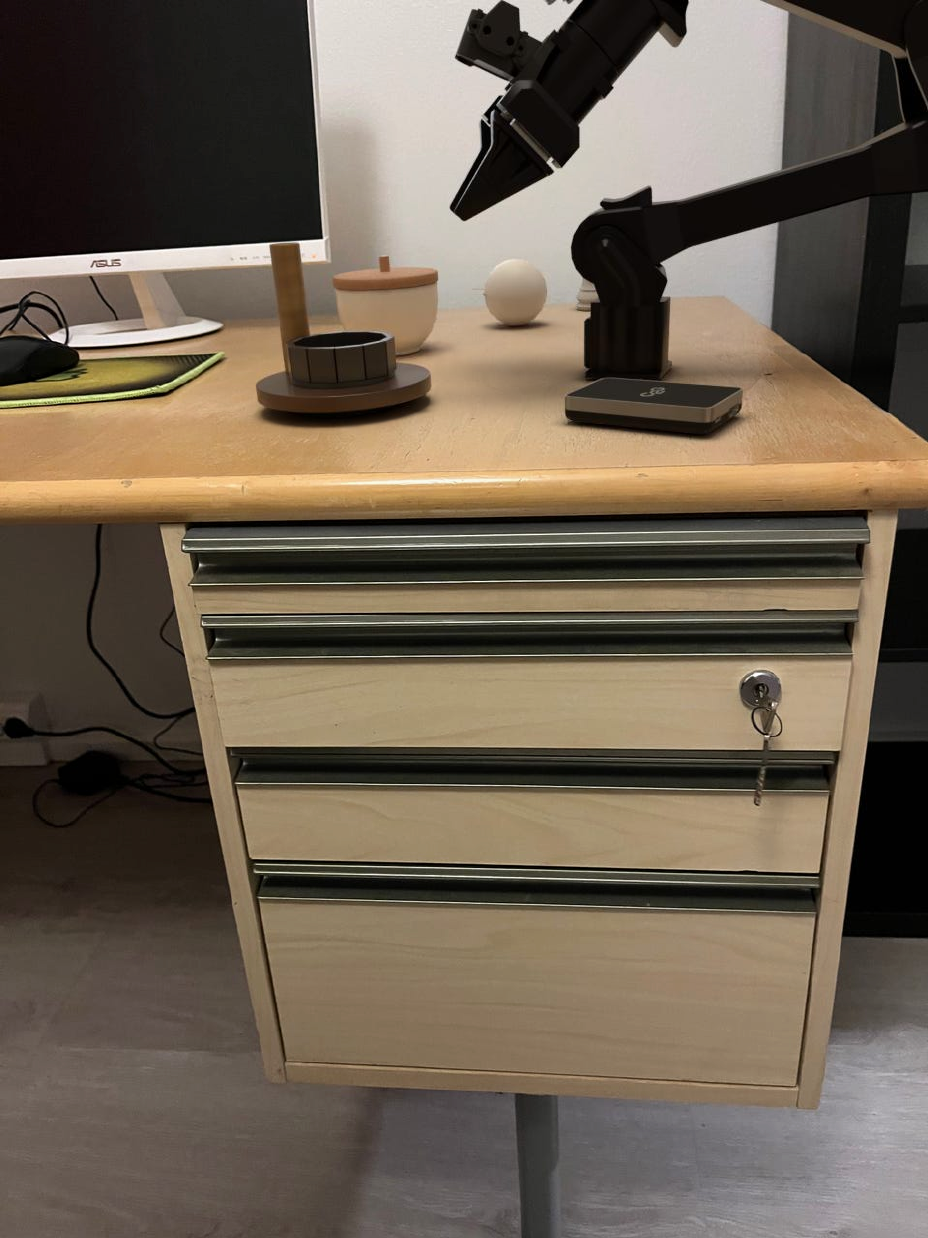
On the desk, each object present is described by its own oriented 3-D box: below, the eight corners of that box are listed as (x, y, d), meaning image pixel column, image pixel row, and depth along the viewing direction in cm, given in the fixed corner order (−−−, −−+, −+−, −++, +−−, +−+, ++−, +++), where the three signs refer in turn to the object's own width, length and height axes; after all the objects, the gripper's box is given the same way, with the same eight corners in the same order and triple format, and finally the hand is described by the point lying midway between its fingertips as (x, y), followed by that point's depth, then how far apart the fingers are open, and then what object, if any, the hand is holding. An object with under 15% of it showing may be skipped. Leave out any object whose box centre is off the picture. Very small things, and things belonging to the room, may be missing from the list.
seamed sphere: (561, 323, 111) (560, 256, 108) (515, 332, 107) (514, 262, 104) (502, 317, 118) (500, 254, 115) (457, 325, 114) (454, 260, 111)
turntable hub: (411, 395, 80) (410, 383, 79) (369, 419, 73) (368, 406, 72) (326, 393, 82) (325, 381, 82) (278, 415, 76) (276, 402, 75)
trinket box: (429, 359, 94) (422, 258, 90) (326, 361, 96) (315, 262, 92) (452, 341, 104) (447, 249, 100) (358, 342, 106) (349, 252, 102)
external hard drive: (708, 439, 63) (710, 408, 62) (560, 423, 69) (559, 395, 68) (743, 415, 68) (745, 387, 67) (602, 403, 74) (603, 376, 73)
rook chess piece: (574, 311, 120) (574, 243, 116) (576, 306, 124) (576, 240, 120) (610, 310, 119) (611, 241, 116) (611, 305, 123) (612, 238, 119)
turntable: (467, 385, 77) (460, 237, 72) (332, 421, 68) (313, 254, 63) (355, 369, 86) (342, 236, 81) (223, 399, 77) (199, 251, 72)
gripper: (503, -14, 79) (382, 143, 83) (530, -64, 62) (376, 136, 66) (597, 90, 82) (475, 234, 87) (646, 69, 66) (492, 250, 70)
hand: (455, 214), depth 77 cm, fingers open, 9 cm apart
